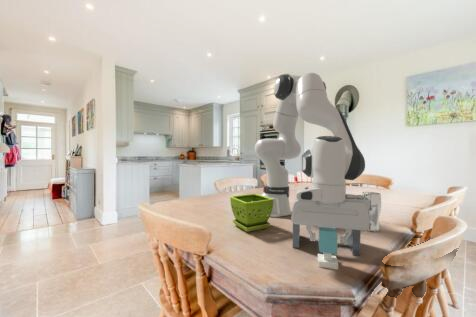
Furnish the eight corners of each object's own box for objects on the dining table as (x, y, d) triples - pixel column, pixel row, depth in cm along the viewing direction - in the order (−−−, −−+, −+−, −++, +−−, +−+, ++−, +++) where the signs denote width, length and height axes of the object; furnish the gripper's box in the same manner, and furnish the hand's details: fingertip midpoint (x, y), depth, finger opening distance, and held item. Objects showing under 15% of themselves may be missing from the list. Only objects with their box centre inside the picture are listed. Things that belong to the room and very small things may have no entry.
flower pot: (229, 224, 96) (229, 196, 96) (255, 220, 103) (255, 193, 103) (245, 235, 84) (245, 202, 84) (274, 229, 91) (274, 198, 91)
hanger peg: (318, 266, 61) (318, 230, 60) (317, 258, 66) (317, 225, 65) (338, 269, 59) (338, 232, 59) (335, 260, 64) (336, 226, 64)
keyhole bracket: (292, 247, 73) (292, 217, 73) (294, 234, 84) (294, 209, 84) (360, 255, 67) (360, 223, 67) (352, 241, 79) (352, 213, 78)
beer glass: (382, 229, 91) (383, 193, 91) (378, 233, 86) (379, 195, 86) (364, 225, 96) (364, 191, 96) (359, 229, 91) (359, 193, 91)
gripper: (366, 193, 62) (366, 242, 62) (292, 189, 68) (291, 234, 68) (373, 197, 56) (372, 251, 56) (291, 193, 62) (290, 242, 62)
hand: (327, 242), depth 62 cm, fingers open, 7 cm apart
